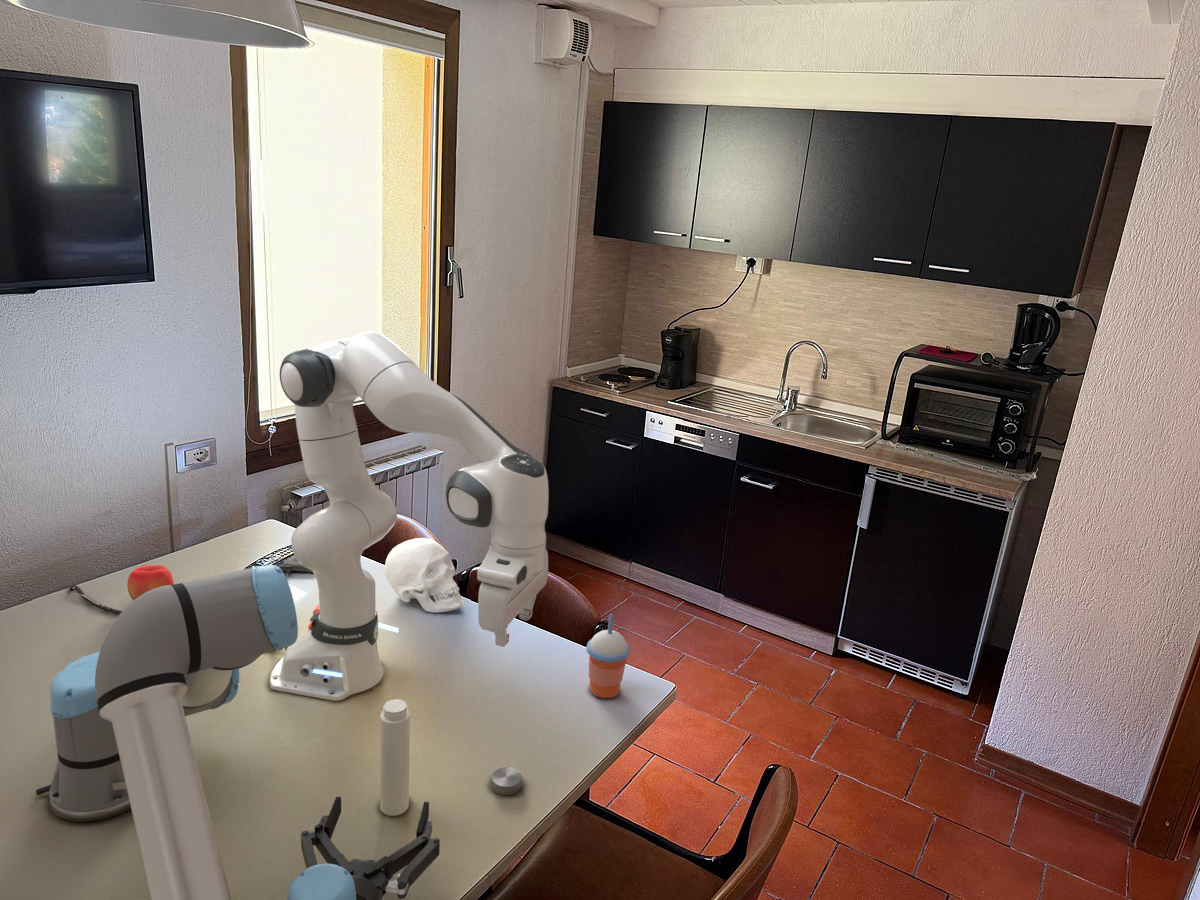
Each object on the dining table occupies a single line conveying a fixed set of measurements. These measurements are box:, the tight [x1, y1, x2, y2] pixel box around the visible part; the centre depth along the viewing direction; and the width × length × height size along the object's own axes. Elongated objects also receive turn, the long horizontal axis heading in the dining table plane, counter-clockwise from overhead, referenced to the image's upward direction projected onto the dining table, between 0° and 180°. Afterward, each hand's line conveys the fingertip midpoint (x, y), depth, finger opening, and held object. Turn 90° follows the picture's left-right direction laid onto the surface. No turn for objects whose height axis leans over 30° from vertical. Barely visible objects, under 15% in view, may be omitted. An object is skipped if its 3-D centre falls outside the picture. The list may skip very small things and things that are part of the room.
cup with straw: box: [586, 613, 631, 699], centre depth 179 cm, size 9×9×18 cm
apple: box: [126, 564, 175, 601], centre depth 199 cm, size 10×10×10 cm
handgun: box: [276, 555, 313, 577], centre depth 220 cm, size 2×18×12 cm
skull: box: [384, 537, 465, 614], centre depth 211 cm, size 13×22×16 cm, turn 67°
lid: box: [490, 766, 522, 796], centre depth 151 cm, size 5×5×2 cm
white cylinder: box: [379, 698, 411, 817], centre depth 141 cm, size 5×5×20 cm
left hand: (382, 806), depth 133 cm, fingers open, 13 cm apart
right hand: (514, 631), depth 142 cm, fingers open, 8 cm apart
